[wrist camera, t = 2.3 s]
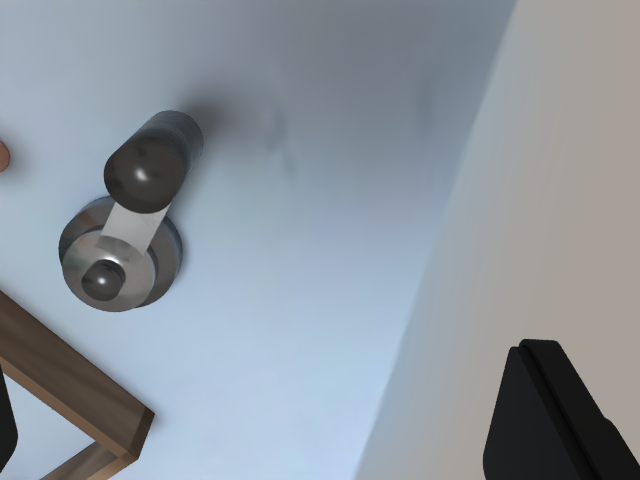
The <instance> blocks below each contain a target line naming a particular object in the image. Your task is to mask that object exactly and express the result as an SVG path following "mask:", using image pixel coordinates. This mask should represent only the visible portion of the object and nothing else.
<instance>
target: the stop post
mask: <svg viewBox="0 0 640 480" xmlns="http://www.w3.org/2000/svg"><path fill="white" fill-rule="evenodd" d="M9 160H10V157H9V152H8V150H7V148H6V146H5V145H4V144H3V143H2V142H1V141H0V172H2V171H3V170H4V169H6V168H7V166H8V164H9Z"/></svg>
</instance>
